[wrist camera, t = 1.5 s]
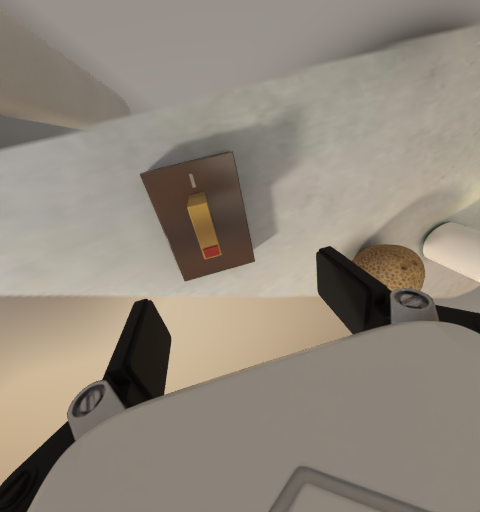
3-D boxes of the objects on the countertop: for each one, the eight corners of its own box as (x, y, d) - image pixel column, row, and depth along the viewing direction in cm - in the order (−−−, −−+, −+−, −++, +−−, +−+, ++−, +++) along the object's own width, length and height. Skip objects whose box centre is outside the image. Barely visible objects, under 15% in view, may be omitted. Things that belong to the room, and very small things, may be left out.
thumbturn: (188, 195, 23) (186, 207, 18) (204, 191, 23) (206, 202, 18) (202, 239, 26) (204, 260, 21) (216, 235, 26) (222, 256, 21)
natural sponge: (392, 254, 37) (453, 286, 28) (353, 287, 39) (398, 327, 30) (371, 222, 33) (434, 248, 24) (328, 260, 35) (372, 297, 26)
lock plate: (145, 171, 24) (139, 174, 21) (228, 151, 25) (233, 151, 22) (185, 270, 31) (184, 282, 28) (250, 252, 31) (255, 262, 29)
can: (433, 261, 40) (518, 301, 30) (411, 250, 38) (496, 288, 27) (462, 229, 38) (565, 260, 27) (441, 215, 35) (546, 242, 25)
